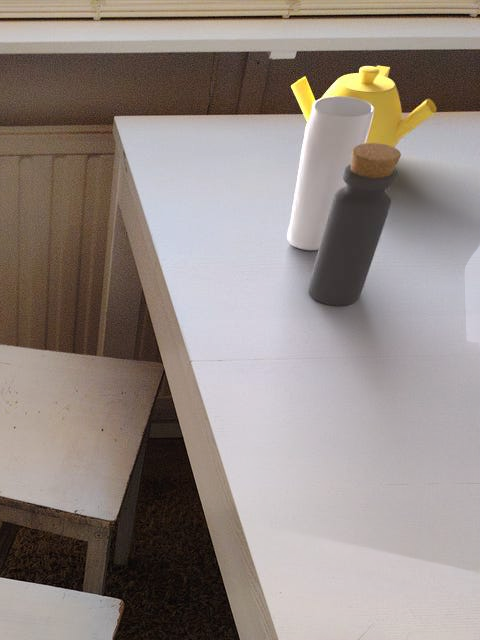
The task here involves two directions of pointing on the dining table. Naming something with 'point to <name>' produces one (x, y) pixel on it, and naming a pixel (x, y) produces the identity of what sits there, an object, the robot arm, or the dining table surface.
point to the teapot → (377, 92)
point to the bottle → (354, 225)
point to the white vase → (325, 163)
